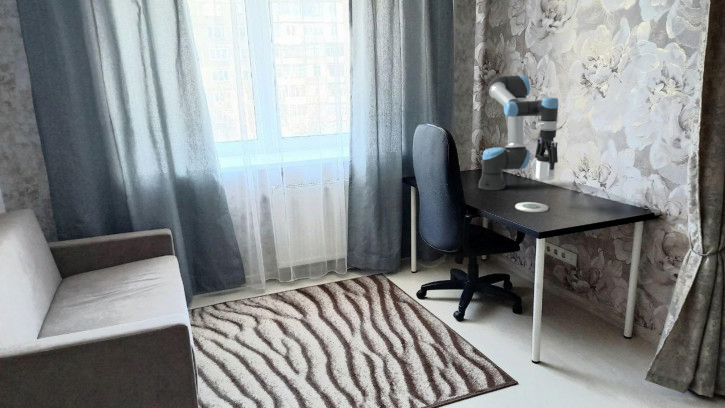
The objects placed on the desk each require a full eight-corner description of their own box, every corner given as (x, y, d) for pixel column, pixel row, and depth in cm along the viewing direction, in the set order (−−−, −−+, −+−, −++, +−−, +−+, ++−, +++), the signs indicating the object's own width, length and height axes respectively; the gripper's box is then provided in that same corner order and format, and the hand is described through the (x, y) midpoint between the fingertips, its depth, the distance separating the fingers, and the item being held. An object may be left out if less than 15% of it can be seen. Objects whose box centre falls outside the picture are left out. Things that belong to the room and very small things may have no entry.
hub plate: (509, 205, 257) (509, 203, 256) (537, 202, 259) (537, 201, 259) (525, 213, 241) (525, 211, 241) (554, 210, 244) (554, 209, 244)
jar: (546, 181, 245) (547, 157, 242) (532, 178, 252) (533, 155, 248) (557, 178, 250) (558, 155, 247) (543, 176, 257) (544, 153, 253)
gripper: (529, 127, 253) (526, 170, 259) (554, 132, 233) (550, 179, 239) (542, 126, 255) (539, 169, 261) (568, 131, 235) (564, 177, 241)
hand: (544, 174), depth 250 cm, fingers closed on jar, 9 cm apart
